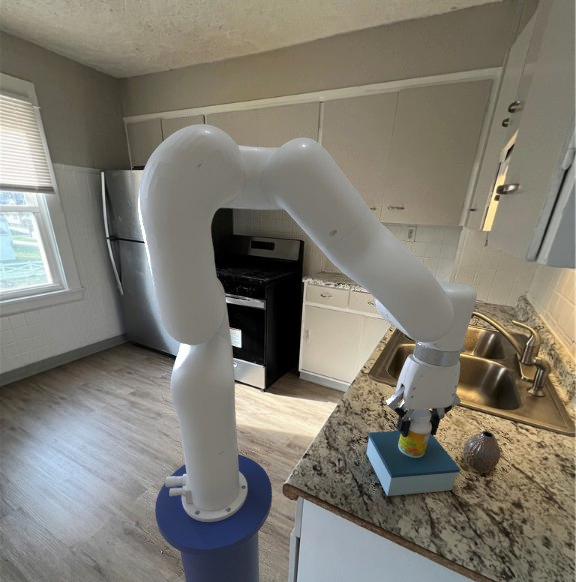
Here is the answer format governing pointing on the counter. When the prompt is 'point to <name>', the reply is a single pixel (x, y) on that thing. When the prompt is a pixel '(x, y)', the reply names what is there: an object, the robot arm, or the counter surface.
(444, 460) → the blue two-tone box
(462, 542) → the counter surface
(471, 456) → the vase
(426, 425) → the supplement bottle
